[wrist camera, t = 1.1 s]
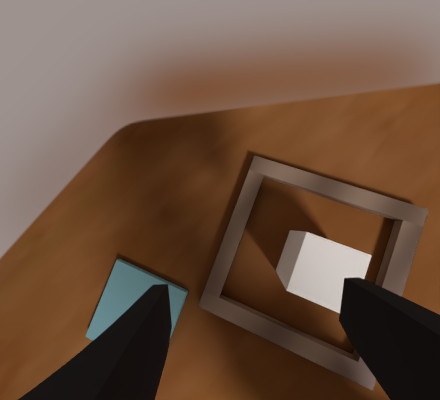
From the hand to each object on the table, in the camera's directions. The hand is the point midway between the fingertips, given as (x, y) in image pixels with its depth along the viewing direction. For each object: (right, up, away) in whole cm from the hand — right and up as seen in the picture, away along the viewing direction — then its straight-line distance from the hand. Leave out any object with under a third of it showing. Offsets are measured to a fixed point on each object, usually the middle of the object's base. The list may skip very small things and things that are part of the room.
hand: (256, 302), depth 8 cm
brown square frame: (+6, -1, +10) cm, 12 cm away
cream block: (+6, -1, +10) cm, 12 cm away
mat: (-10, -7, +12) cm, 17 cm away
